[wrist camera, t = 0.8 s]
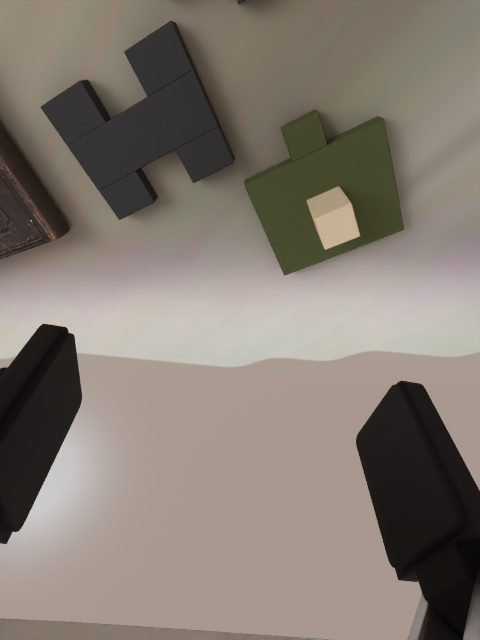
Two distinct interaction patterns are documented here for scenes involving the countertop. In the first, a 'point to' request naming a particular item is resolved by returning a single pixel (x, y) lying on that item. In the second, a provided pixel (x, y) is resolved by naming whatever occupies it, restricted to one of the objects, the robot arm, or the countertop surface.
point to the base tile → (143, 124)
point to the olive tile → (318, 175)
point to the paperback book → (23, 205)
